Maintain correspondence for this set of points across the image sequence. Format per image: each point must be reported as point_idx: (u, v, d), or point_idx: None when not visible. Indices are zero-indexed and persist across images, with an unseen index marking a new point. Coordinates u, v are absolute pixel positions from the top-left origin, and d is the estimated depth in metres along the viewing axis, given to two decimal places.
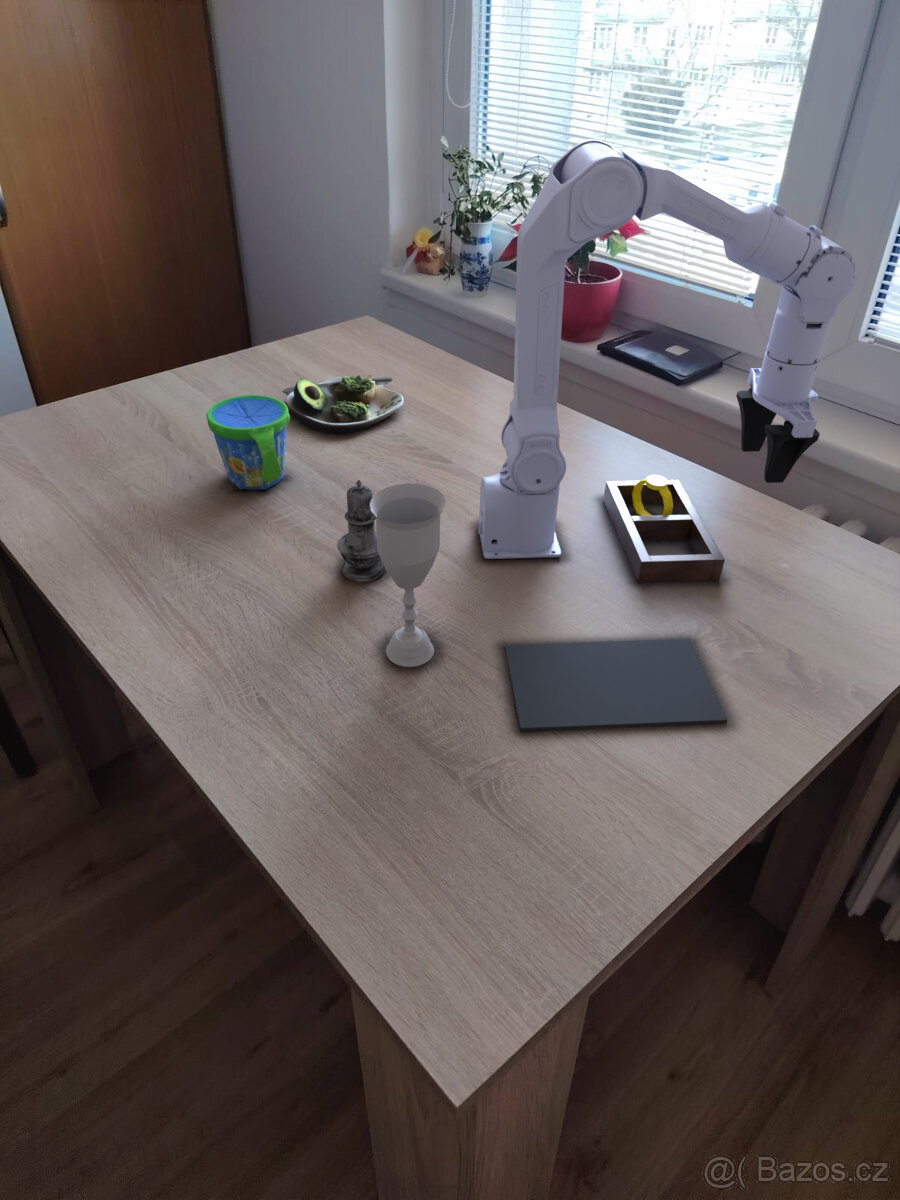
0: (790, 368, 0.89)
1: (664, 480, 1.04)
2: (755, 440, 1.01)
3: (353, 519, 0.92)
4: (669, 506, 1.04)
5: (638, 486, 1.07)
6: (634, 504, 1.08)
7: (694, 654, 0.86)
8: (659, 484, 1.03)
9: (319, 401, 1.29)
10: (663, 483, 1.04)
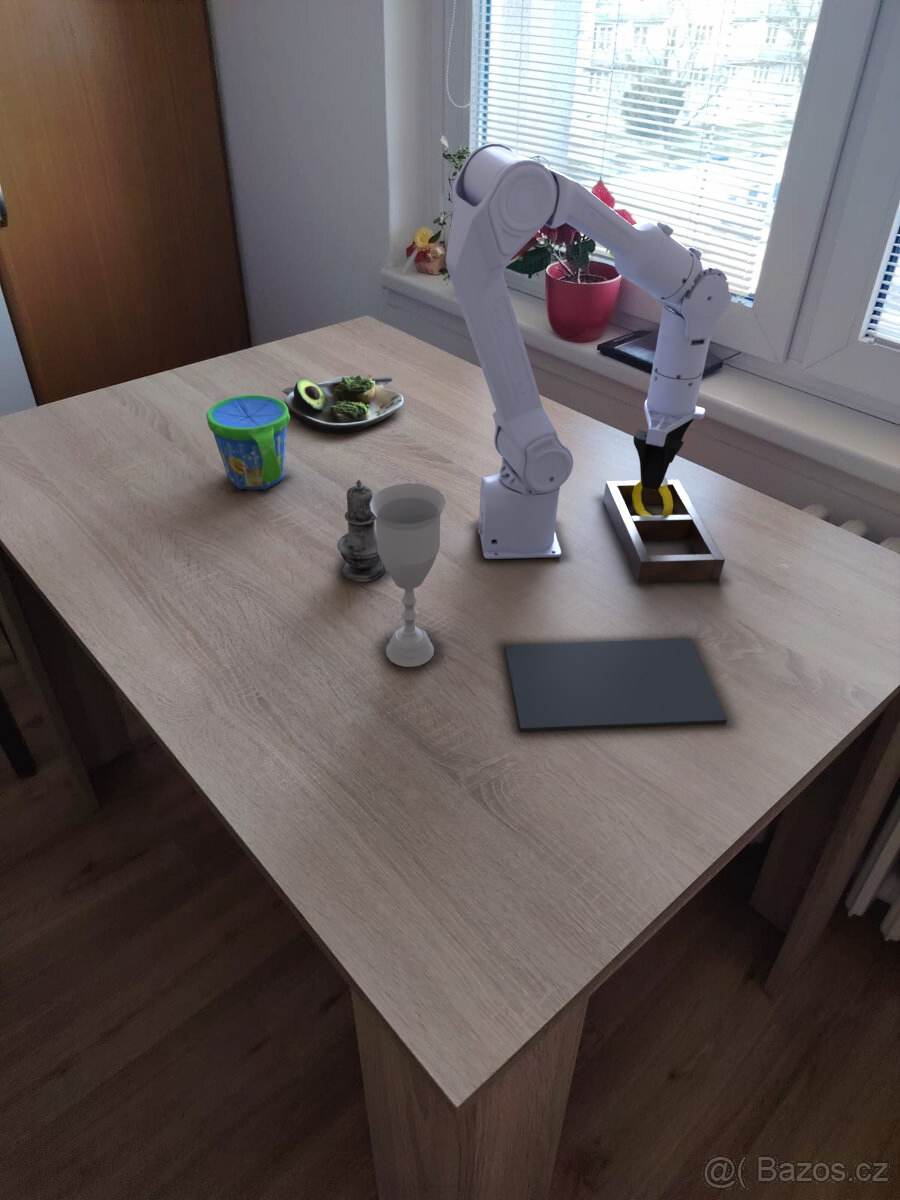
0: (662, 379, 0.94)
1: (664, 480, 1.04)
2: None
3: (353, 519, 0.92)
4: (669, 506, 1.04)
5: (638, 486, 1.07)
6: (634, 504, 1.08)
7: (694, 654, 0.86)
8: None
9: (319, 401, 1.29)
10: (663, 483, 1.04)
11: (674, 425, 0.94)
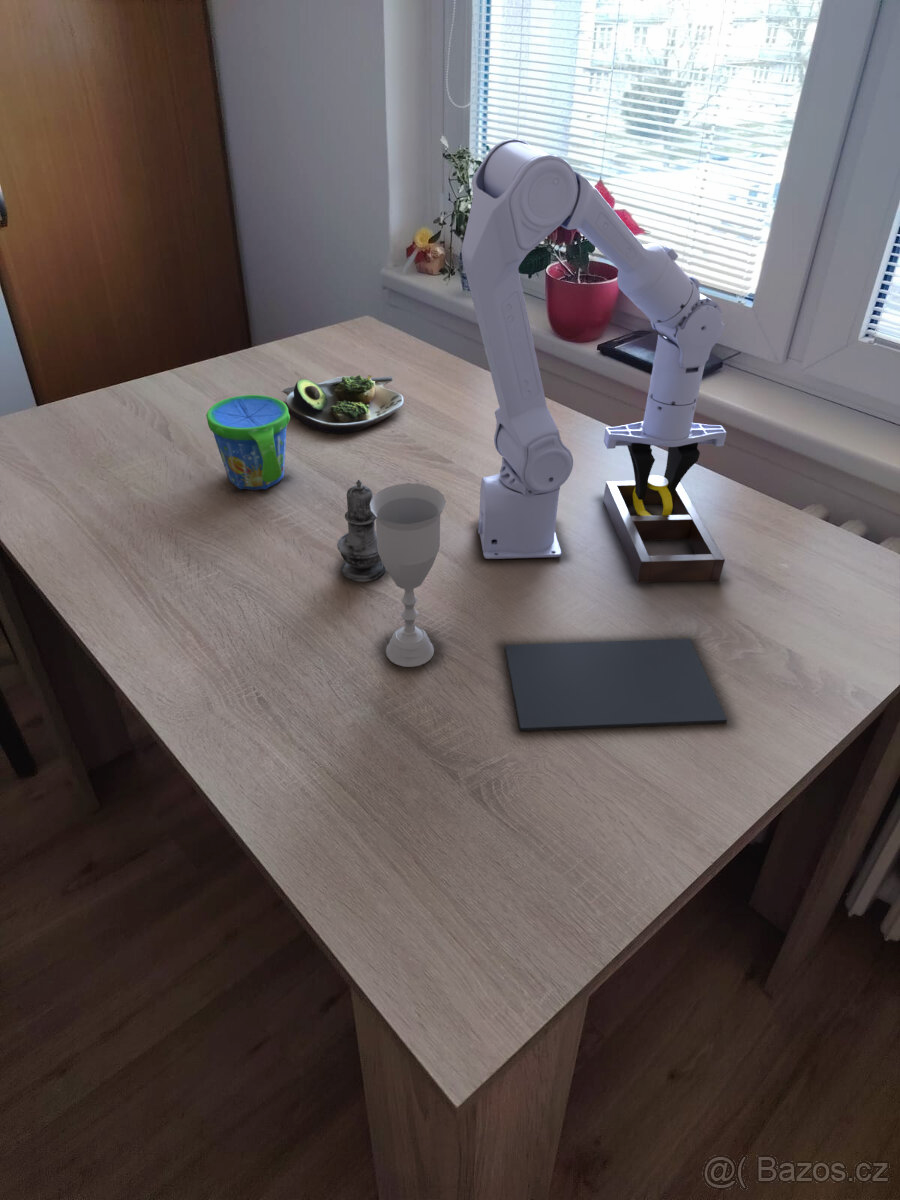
0: (696, 402, 0.97)
1: (664, 480, 1.04)
2: None
3: (353, 519, 0.92)
4: (668, 507, 1.04)
5: None
6: (634, 504, 1.08)
7: (694, 654, 0.86)
8: (659, 484, 1.03)
9: (319, 401, 1.29)
10: (663, 483, 1.04)
11: None
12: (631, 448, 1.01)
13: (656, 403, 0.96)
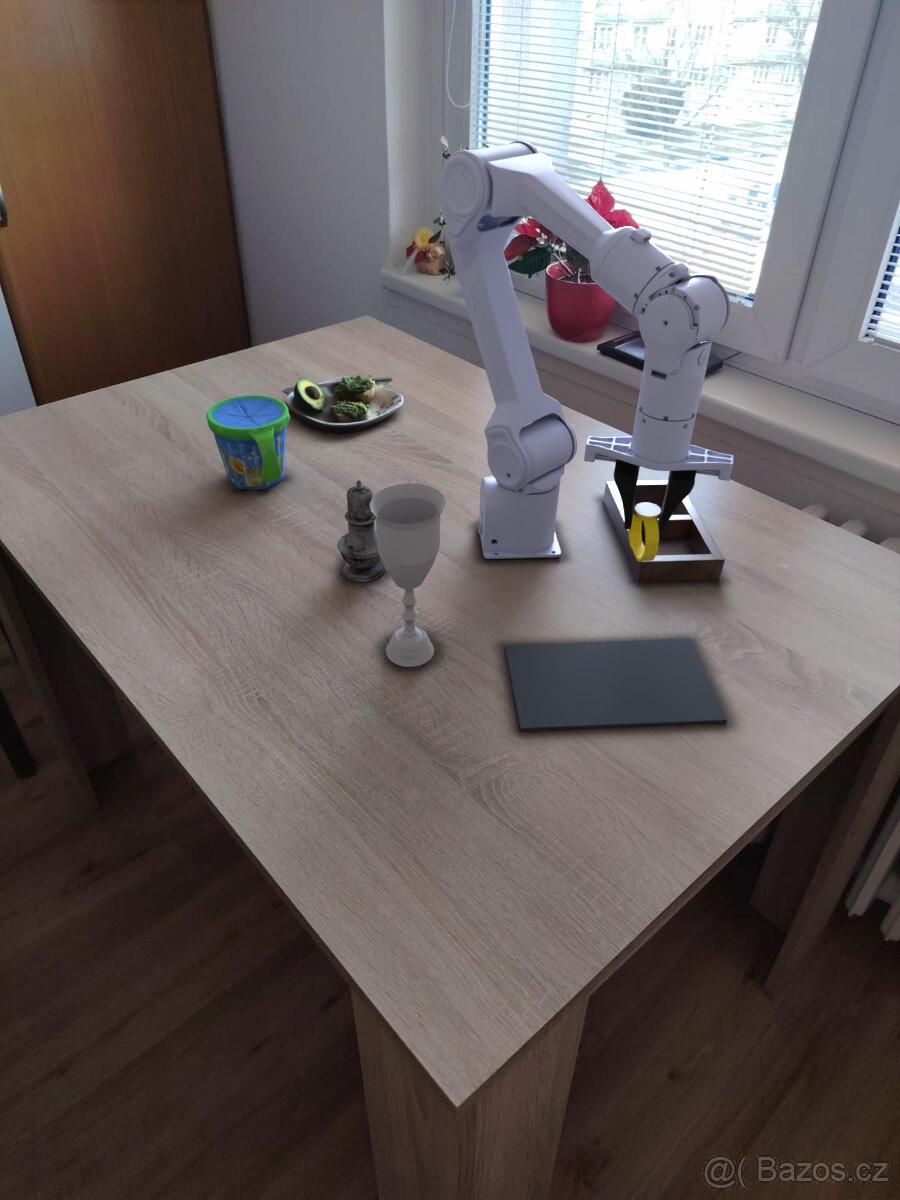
0: (693, 420, 0.79)
1: (656, 510, 0.87)
2: (633, 512, 0.88)
3: (353, 519, 0.92)
4: (652, 542, 0.86)
5: None
6: (629, 533, 0.92)
7: (694, 654, 0.86)
8: (646, 514, 0.86)
9: (319, 401, 1.29)
10: (651, 514, 0.86)
11: None
12: (615, 465, 0.85)
13: (640, 414, 0.80)
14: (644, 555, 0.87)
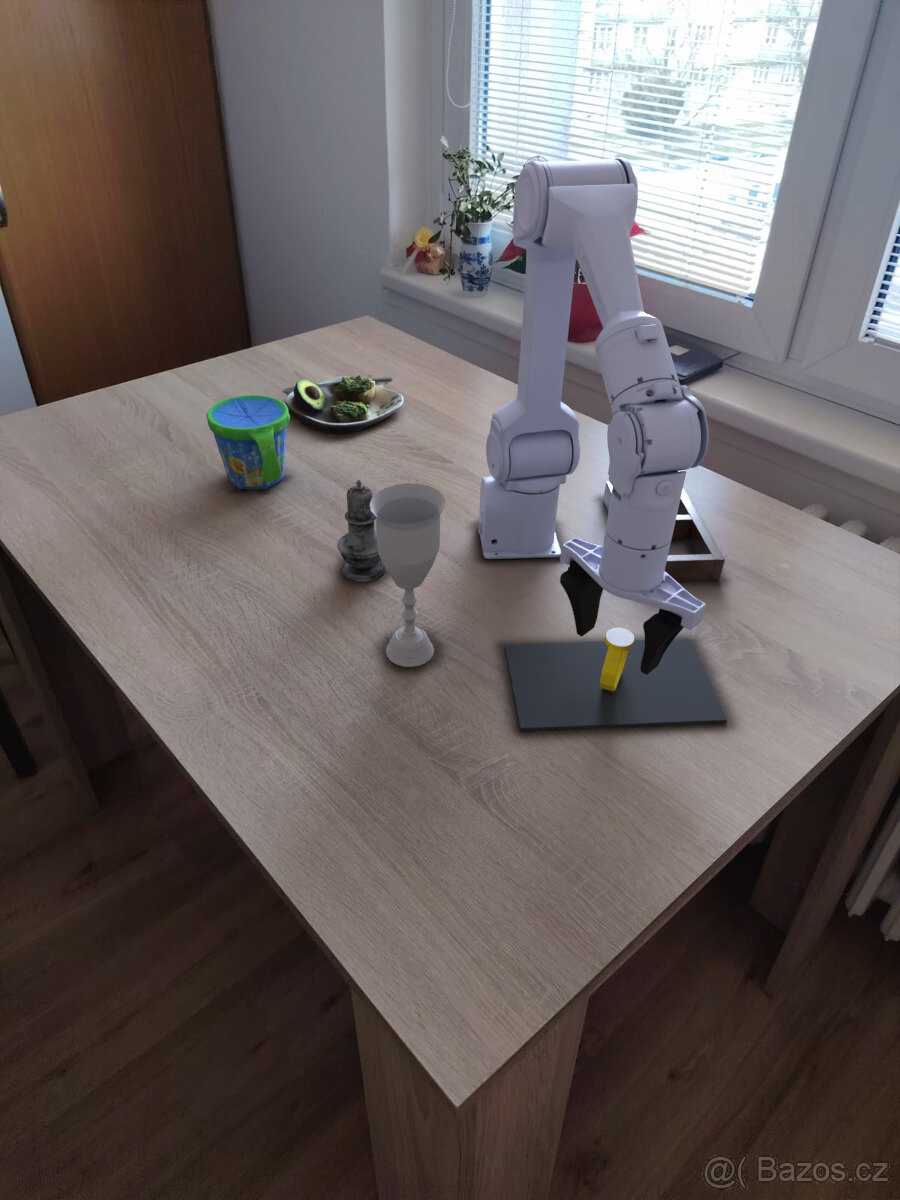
0: (655, 553, 0.70)
1: (627, 641, 0.79)
2: (590, 619, 0.82)
3: (353, 519, 0.92)
4: (608, 673, 0.79)
5: None
6: None
7: (694, 654, 0.86)
8: (613, 641, 0.79)
9: (319, 401, 1.29)
10: (618, 643, 0.79)
11: None
12: None
13: None
14: (600, 683, 0.80)
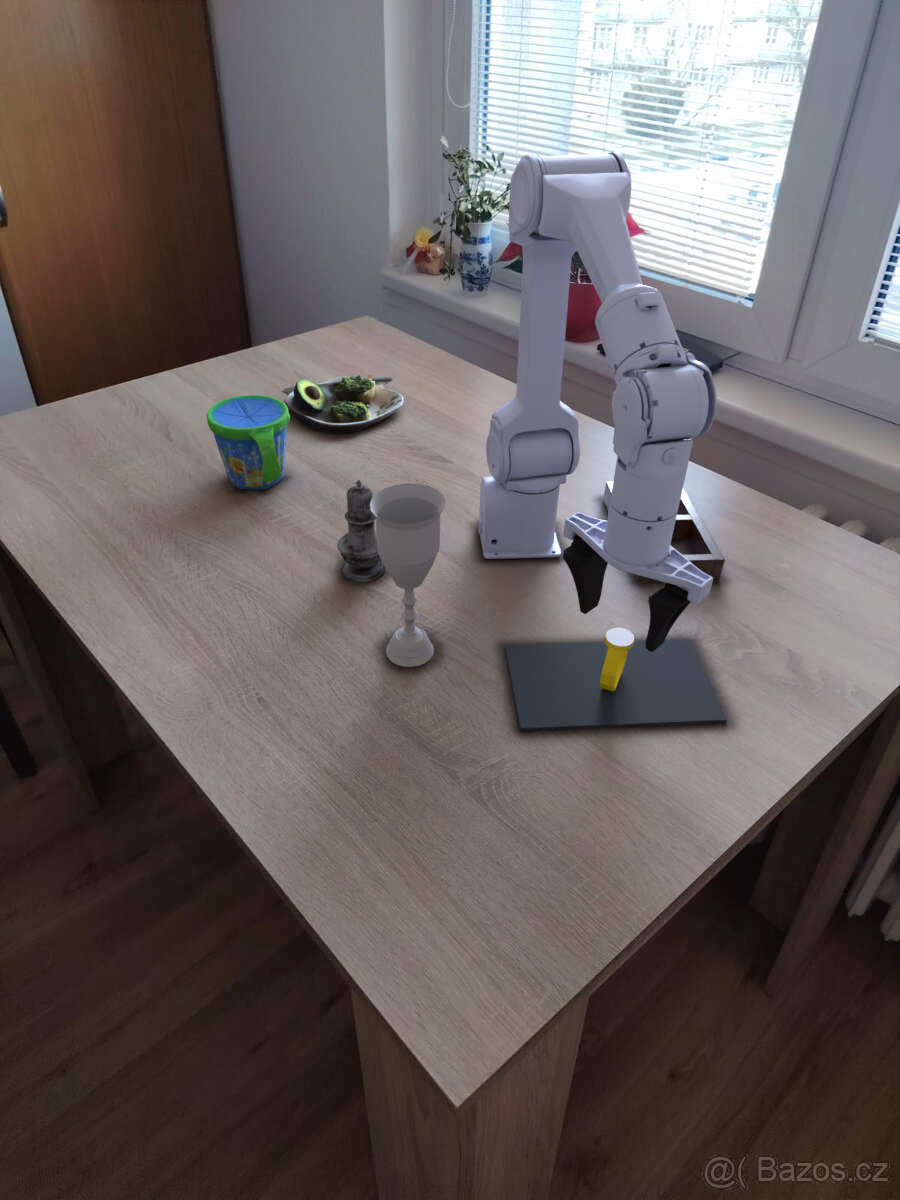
0: (661, 524, 0.69)
1: (627, 641, 0.79)
2: (594, 597, 0.80)
3: (353, 519, 0.92)
4: (608, 673, 0.79)
5: None
6: None
7: (694, 654, 0.86)
8: (613, 641, 0.79)
9: (319, 401, 1.29)
10: (619, 643, 0.79)
11: None
12: None
13: (610, 502, 0.71)
14: (600, 683, 0.80)
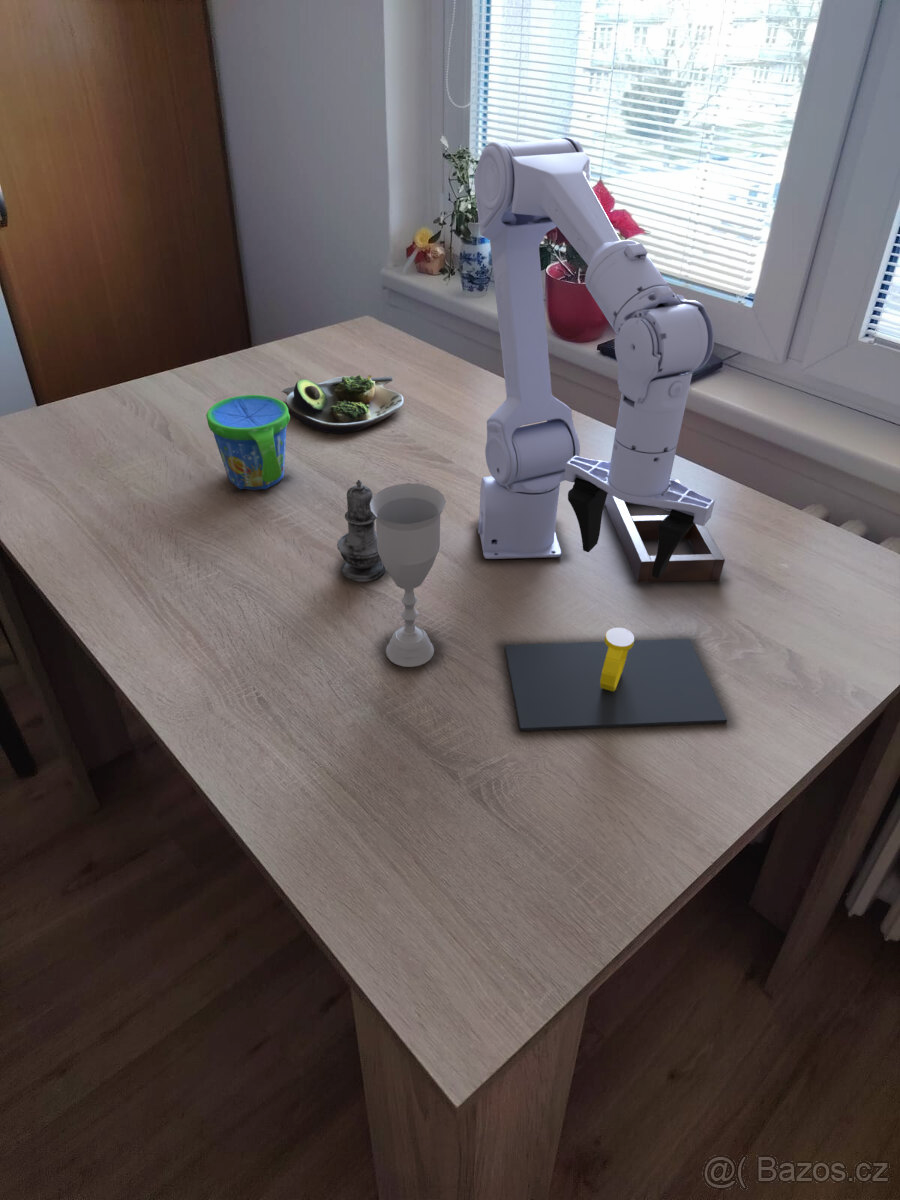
0: (666, 455, 0.74)
1: (627, 641, 0.79)
2: (595, 535, 0.85)
3: (353, 519, 0.92)
4: (608, 673, 0.79)
5: None
6: None
7: (694, 654, 0.86)
8: (613, 641, 0.79)
9: (319, 401, 1.29)
10: (619, 643, 0.79)
11: None
12: None
13: (614, 440, 0.76)
14: (600, 683, 0.80)
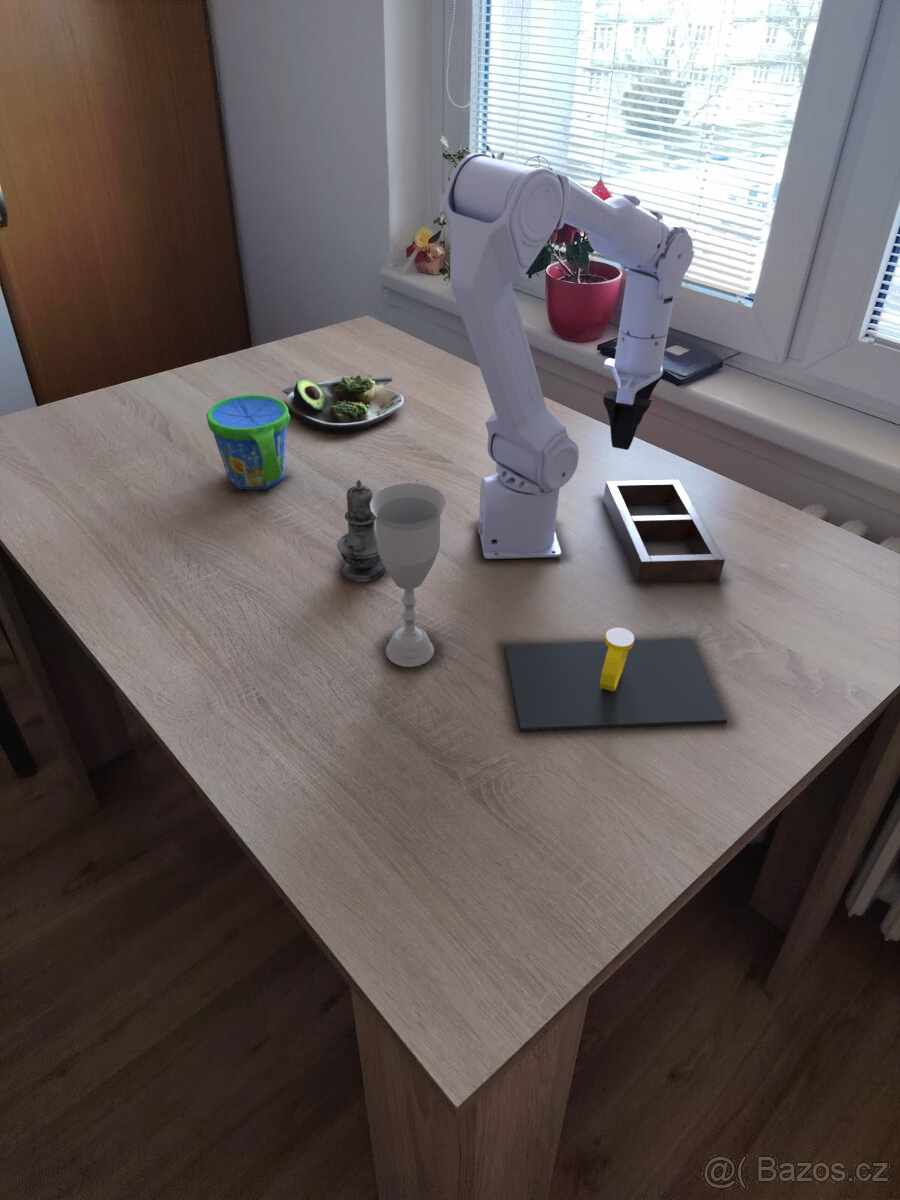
0: None
1: (627, 641, 0.79)
2: None
3: (353, 519, 0.92)
4: (608, 673, 0.79)
5: None
6: None
7: (694, 654, 0.86)
8: (613, 641, 0.79)
9: (319, 401, 1.29)
10: (619, 643, 0.79)
11: None
12: None
13: (653, 340, 0.96)
14: (600, 683, 0.80)
